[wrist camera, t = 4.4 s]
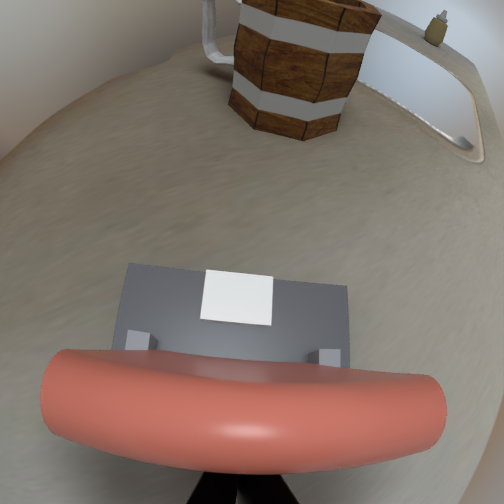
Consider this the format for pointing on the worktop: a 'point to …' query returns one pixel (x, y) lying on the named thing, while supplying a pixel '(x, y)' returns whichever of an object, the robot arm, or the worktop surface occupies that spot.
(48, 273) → the worktop surface
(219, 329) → the grey holder stand
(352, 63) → the mug
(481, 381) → the worktop surface
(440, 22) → the squeeze bottle
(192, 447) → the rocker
